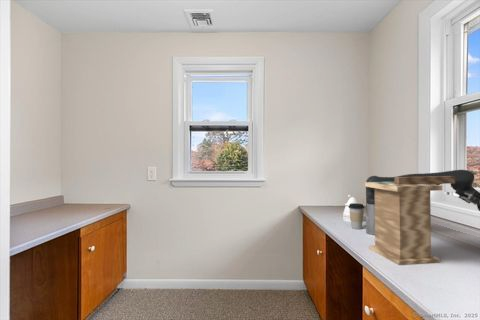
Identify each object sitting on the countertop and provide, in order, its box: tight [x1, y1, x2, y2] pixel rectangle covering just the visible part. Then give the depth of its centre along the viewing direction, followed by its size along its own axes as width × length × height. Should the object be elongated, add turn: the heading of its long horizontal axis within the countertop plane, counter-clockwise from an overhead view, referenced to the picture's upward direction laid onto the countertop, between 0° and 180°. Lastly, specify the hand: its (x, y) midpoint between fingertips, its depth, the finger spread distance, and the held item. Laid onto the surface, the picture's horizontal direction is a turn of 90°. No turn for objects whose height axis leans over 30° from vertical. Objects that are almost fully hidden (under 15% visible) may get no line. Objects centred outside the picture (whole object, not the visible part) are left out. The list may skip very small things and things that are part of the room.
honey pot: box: [342, 194, 364, 223], centre depth 206 cm, size 13×13×18 cm
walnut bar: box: [393, 176, 455, 185], centre depth 127 cm, size 26×3×3 cm, turn 97°
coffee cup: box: [349, 202, 365, 230], centre depth 184 cm, size 9×9×15 cm
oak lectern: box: [364, 181, 443, 266], centre depth 132 cm, size 20×24×32 cm
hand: (464, 191), depth 129 cm, fingers open, 8 cm apart
